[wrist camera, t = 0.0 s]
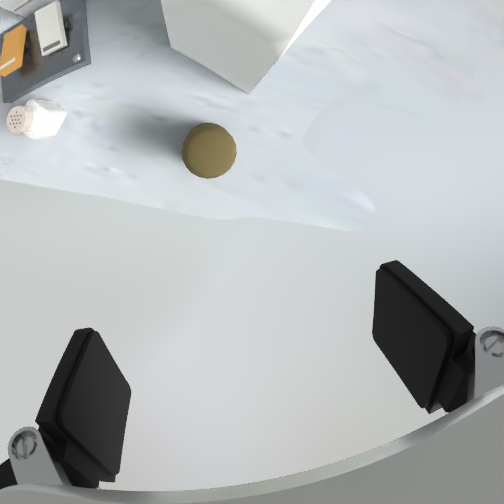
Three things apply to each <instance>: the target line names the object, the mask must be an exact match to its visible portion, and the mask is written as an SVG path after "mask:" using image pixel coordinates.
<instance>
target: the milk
mask: <svg viewBox="0 0 504 504" xmlns="http://www.w3.org/2000/svg"><path fill="white" fill-rule="evenodd" d="M330 1H331V0H161V5H162V10H163V14H164V19H165V23H166V28H167V32H168V37H169V41H170V46H171V48H173V49H175V50H176V51H178V52H180V53H182V54H184V55H185V56H187V57H189V58H191V59H192V60H194V61H196V62H198V63H199V64H201V65H203V66H204V67H206V68H208V69H209V70H211V71H213V72H214V73H216V74H218V75H219V76H221V77H222V78H224V79H226V80H227V81H229V82H230V83H232V84H233V85H235V86H237V87H238V88H240V89H241V90H243V91H244V92H246V93H247V94H250V93H251V92H252V90H253V89H254V88H255V87H256V85H257V84H258V83H259V82H260V81H261V79H262V78H263V77H264V76H265V74H266V73H267V72H268V71H269V70H270V68H271V67H272V66H273V65H274V64H275V63H276V61H277V60H278V59H279V58H280V57H281V55H282V54H283V53H284V52H285V51H286V50H287V48H288V47H289V46H290V45H291V44H292V42H293V41H294V40H295V39H296V38H297V37H298V36H299V34H300V33H301V32H302V31H303V30H304V29H305V28H306V27H307V25H308V24H309V23H310V22H311V21H312V20H313V19H314V18H315V17H316V16H317V14H318V13H319V12H320V11H321V10H322V9H323V8H324V7H325V6H326V5H327V4H328V3H329V2H330Z"/></svg>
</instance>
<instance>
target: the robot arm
mask: <svg viewBox="0 0 504 504" xmlns="http://www.w3.org/2000/svg"><path fill="white" fill-rule="evenodd" d="M473 329H474V326H473V325H472V324H471V323H469V322H468V321H467V320H466V319H465V318H464V317H463V316H462V315H461V314H460V313H459V312H458V311H456V310H455V309H454V308H453V307H452V306H451V305H450V304H448V302H446V301H445V300H444V299H443V298H442V297H441V296H440V295H438V294H437V293H436V292H435V291H434V290H432V289H431V288H430V287H429V286H428V285H427V284H426V283H424V282H423V281H422V280H421V279H420V278H419V277H417V276H416V275H415V274H414V273H413V272H411V271H410V270H409V269H408V268H406V267H405V266H404V265H403V264H401V263H400V262H399V261H397V260H395V261H391V262H387V263H384V264H381V266H380V269H378V270H377V271H376V281H375V302H374V317H373V330H372V334H373V338H374V341H375V342H376V344H377V345H378V347H379V348H380V350H381V351H382V352H383V354H384V355H385V357H386V358H387V359H388V361H389V362H390V364H391V365H392V367H393V368H394V370H395V371H396V372H397V374H398V375H399V377H400V378H401V380H402V381H403V383H404V384H405V386H406V387H407V388H408V390H409V392H410V393H411V394H412V396H413V398H414V399H415V400H416V402H417V404H418V405H419V406H420V407H421V408H425V409H426V410H427V412H428V413H429V414H431V413H433V412H435V411H436V410H438V409H440V408H443V409H444V410H445V412H446V414H445V416H443V417H441V418H439V419H437V420H435V421H433V422H431V423H429V424H427V425H426V426H423V427H421V428H419V429H417V430H415V431H413V432H411V433H409V434H407V435H405V436H402V437H400V438H398V439H396V440H394V441H391V442H389V443H387V444H384V445H382V446H379V447H377V448H374V449H372V450H369V451H367V452H364V453H361V454H359V455H356V456H353V457H350V458H347V459H345V460H342V461H338V462H335V463H332V464H329V465H326V466H322V467H319V468H315V469H312V470H308V471H304V472H300V473H296V474H292V475H289V476H284V477H279V478H275V479H270V480H265V481H260V482H254V483H248V484H242V485H236V486H228V487H220V488H211V489H199V490H186V491H161V492H160V491H156V492H154V491H150V492H148V491H147V492H146V491H143V492H142V491H119V490H103V489H100V487H99V480H100V481H104V482H115V476H116V474H118V473H119V470H120V463H121V455H122V447H123V441H124V434H125V427H126V421H127V415H128V409H129V403H130V398H131V389H130V386H129V384H128V382H127V381H126V379H125V378H124V376H123V374H122V373H121V371H120V369H119V368H118V366H117V364H116V363H115V361H114V359H113V358H112V356H111V354H110V352H109V350H108V349H107V347H106V345H105V343H104V341H103V340H102V338H101V336H100V334H99V333H98V332H97V331H94V330H93V329H92V328H84V329H78V330H75V332H74V334H73V336H72V338H71V340H70V342H69V344H68V346H67V348H66V350H65V352H64V354H63V356H62V358H61V361H60V363H59V365H58V367H57V369H56V371H55V374H54V376H53V378H52V380H51V383H50V385H49V388H48V390H47V392H46V395H45V397H44V400H43V402H42V404H41V407H40V410H39V412H38V415H37V417H36V420H35V422H36V423H37V424H38V425H39V429H38V430H36V429H35V428H34V427H23V428H21V429H19V430H18V431H17V432H15V434H14V435H13V436H12V437H11V439H10V442H9V446H8V454H9V459H8V460H6V461H5V462H3V463H2V464H1V465H0V504H504V330H503V329H501V328H498V327H486V328H484V329H482V330H480V331H479V332H478V333H477V335H476V334H475V333H474V332H473Z"/></svg>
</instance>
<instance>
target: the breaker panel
mask: <svg viewBox="0 0 504 504" xmlns="http://www.w3.org/2000/svg"><path fill="white" fill-rule="evenodd" d="M58 2H60V6H61V13H62V19H63V25H64V30H65V36H66V41H67V46H65V47H63V48H61V49H59V50H57V51H55V52H53V53H51V54H49V55H46V56H42V52H41V47H40V42H39V37H38V31H37V25H36V19H35V13H34V14H32V15H31V16H29V17H27V18H25V19H24V20H22V21H20V22H19V23H17V24H16V25H14V26H12V27H11V28H9V29H8V30H6V31H5V32H3V33H2V34H0V55H1V53H2V47H3V41H4V36H5V35H6V34H7V33H9V32H10V31H12V30H13V29H15V28H17V27H18V26H20V25H21V24H22V25H23V26H25V27H26V28H27V31H26V37H25V44H24V51H23V60H22V66H21V67H20V68H18V69H16V70H15V71H13V72H11V73H10V74H8V75H7V76H5V77H4V76H2V75H1V77H2V90H3V100H4V103H12V102H13V101H15V100H17V99H19V98H20V97H22V96H24V95H26V94H28V93H29V92H31V91H33V90H35V89H37V88H39V87H41V86H43V85H45V84H47V83H49V82H51V81H53V80H55V79H57V78H59V77H61V76H63V75H65V74H68V73H70V72H72V71H75V70H77V69H79V68H82V67H84V66H86V65H89V64H91V58H90V50H89V41H88V30H87V18H86V2H85V0H59V1H58Z"/></svg>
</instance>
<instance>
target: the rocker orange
mask: <svg viewBox="0 0 504 504" xmlns="http://www.w3.org/2000/svg"><path fill="white" fill-rule="evenodd" d="M26 31H27V28H26V27H25V26H23V25H22V24H21V25H20V26H18V27H17V28H15V29H13V30H12V31H10V32H9V33H7V34H6V35H5V36H4V41H3V47H2V53H1V59H0V75H2V76H4V77H5V76H7V75H8V74H10V73H11V72H13V71H15V70H16V69H18V68H20V67H21V66H22V60H23V51H24V44H25V37H26Z"/></svg>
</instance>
